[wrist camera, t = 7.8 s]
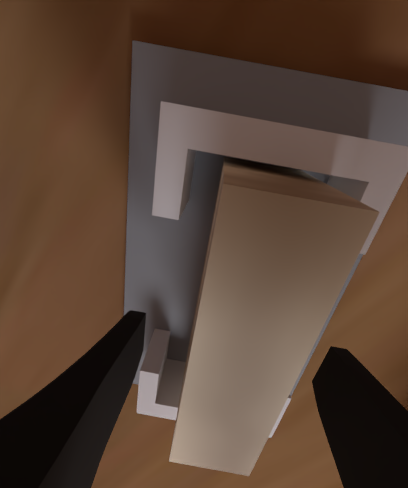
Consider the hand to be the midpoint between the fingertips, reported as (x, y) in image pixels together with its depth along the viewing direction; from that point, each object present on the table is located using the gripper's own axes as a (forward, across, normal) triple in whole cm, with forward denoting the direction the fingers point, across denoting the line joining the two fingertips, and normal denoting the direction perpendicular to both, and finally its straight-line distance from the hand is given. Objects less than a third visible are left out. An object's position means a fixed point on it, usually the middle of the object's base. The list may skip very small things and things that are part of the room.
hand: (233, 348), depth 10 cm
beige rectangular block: (+4, 0, 0) cm, 4 cm away
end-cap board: (+5, 0, 0) cm, 5 cm away
